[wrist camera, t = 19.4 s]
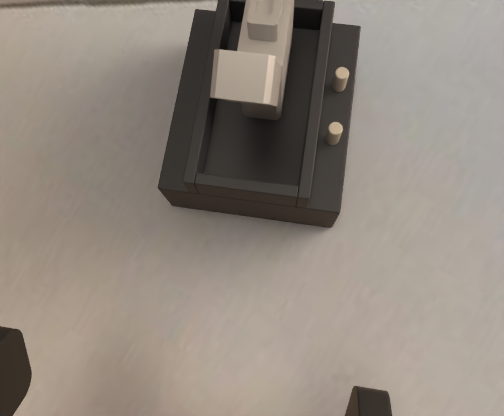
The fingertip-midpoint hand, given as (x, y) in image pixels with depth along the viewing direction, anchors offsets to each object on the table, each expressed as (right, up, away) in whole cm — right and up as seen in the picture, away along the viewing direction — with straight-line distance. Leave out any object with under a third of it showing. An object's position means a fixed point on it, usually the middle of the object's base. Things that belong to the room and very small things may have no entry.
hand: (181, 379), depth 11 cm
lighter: (+2, +9, +10) cm, 14 cm away
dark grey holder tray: (+2, +8, +13) cm, 16 cm away
